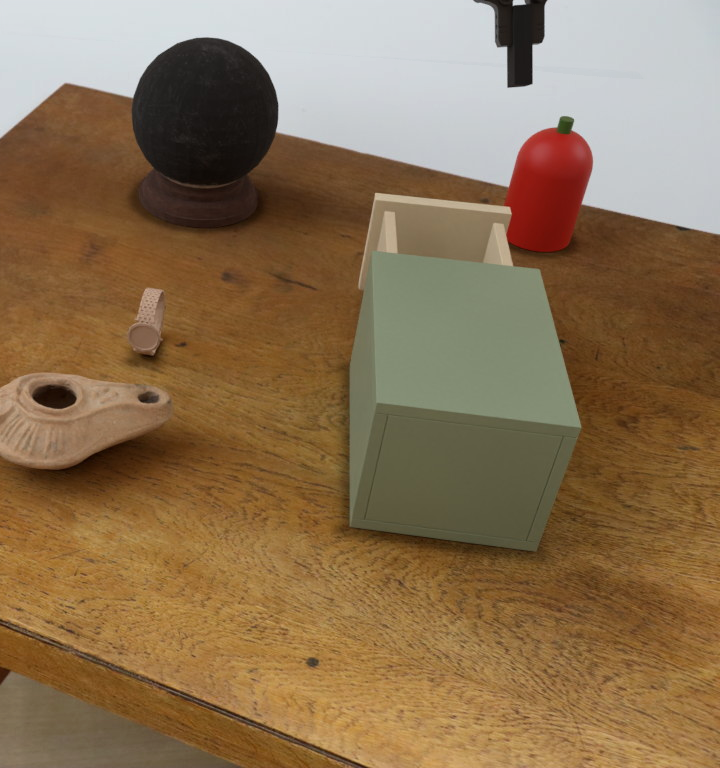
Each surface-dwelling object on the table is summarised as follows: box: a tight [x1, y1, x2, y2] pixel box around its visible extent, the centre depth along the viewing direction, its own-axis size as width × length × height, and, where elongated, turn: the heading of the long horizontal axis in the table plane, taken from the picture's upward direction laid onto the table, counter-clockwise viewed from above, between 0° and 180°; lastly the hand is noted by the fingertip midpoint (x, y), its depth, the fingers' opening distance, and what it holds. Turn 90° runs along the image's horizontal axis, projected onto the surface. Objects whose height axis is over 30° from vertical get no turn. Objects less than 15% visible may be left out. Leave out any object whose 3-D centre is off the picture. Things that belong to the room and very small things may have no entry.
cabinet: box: [349, 251, 582, 553], centre depth 74 cm, size 18×12×10 cm, turn 172°
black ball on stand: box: [131, 36, 280, 229], centre depth 100 cm, size 13×13×15 cm
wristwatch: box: [126, 287, 167, 356], centre depth 83 cm, size 3×5×5 cm, turn 167°
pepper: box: [503, 115, 594, 253], centre depth 98 cm, size 6×6×11 cm
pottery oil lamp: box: [0, 372, 175, 471], centre depth 73 cm, size 9×12×7 cm
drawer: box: [358, 192, 514, 291], centre depth 85 cm, size 22×10×8 cm, turn 172°
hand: (519, 85), depth 95 cm, fingers closed
